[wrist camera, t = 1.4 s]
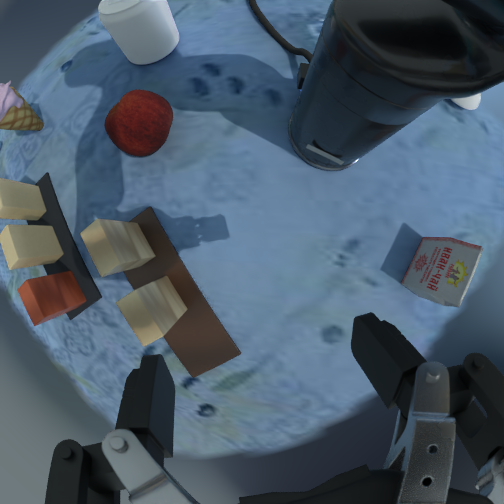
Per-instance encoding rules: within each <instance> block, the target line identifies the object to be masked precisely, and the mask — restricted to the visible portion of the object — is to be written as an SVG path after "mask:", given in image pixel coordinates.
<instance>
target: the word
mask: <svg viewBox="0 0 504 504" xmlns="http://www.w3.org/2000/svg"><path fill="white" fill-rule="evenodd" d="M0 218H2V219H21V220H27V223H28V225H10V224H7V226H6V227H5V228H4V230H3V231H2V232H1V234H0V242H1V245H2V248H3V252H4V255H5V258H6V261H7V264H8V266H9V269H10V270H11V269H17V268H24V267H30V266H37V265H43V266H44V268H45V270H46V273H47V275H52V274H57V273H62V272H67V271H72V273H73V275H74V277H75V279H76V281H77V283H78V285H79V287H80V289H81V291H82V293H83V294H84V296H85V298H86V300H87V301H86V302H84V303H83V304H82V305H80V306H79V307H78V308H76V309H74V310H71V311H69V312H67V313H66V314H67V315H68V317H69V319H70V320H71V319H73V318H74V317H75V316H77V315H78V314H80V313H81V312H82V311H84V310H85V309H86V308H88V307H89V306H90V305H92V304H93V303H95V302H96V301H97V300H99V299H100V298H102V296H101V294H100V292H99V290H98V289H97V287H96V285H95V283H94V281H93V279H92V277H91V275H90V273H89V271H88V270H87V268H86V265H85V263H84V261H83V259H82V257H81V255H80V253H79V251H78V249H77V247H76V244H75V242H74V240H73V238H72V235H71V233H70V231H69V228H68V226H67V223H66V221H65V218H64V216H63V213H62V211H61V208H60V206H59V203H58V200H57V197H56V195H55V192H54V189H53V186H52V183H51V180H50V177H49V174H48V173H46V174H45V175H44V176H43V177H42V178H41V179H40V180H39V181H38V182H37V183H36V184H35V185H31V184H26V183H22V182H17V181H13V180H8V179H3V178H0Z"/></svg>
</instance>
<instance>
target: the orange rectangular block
mask: <svg viewBox="0 0 504 504" xmlns="http://www.w3.org/2000/svg"><path fill="white" fill-rule="evenodd" d="M18 292H19V294H20V297H21V299H22V301H23V304H24V306H25V308H26V310H27V312H28V314H29V316H30V318H31V320H32V322H33V324H34V326H36V325H39V324H41V323H43V322H46V321H48V320H50V319H53V318H55V317H57V316H60V315H62V314H64V313H67V312H69V311H71V310H74V309H76V308H78V307H79V306H80V305H82V304H83V303H84V302H86V301H87V300H86V298H85V296H84V294H83V293H82V291H81V289H80V287H79V285H78V283H77V281H76V279H75V277H74V275H73V273H72V271H67V272H62V273H57V274H52V275H47V276H42V277H38V278H33V279H28V280H26V281H25V282H24V283H23V284H22V285H21V286H20V288H19V289H18Z"/></svg>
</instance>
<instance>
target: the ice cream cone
mask: <svg viewBox="0 0 504 504" xmlns="http://www.w3.org/2000/svg"><path fill="white" fill-rule="evenodd" d="M10 82H11V81H9V83H7V84H6V85H5V84H3V83H1V84H0V129H5V130H37V131H40V130H41V129H42V128H43V125H44V124H43V122H42V121H41V120H40V118H39V117H38V116H37V114H36V113H35V112H34V110H33V109H32V108H31V107H30V105H29V104H28V103H27V102H26V101H25V99H24V98H23V97H22V96H21V95H20V94H19V93H18V92H17V91H16V90H15V89H14V88H13V87H9V85H10Z"/></svg>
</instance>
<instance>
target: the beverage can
mask: <svg viewBox="0 0 504 504" xmlns="http://www.w3.org/2000/svg"><path fill="white" fill-rule="evenodd" d="M98 10H99V19H100V21H101V22H102V24H103V25H104V27H105V28H106V29H107V31H108V32H109V33H110V35H111V36H112V38H113V39H114V40H115V42H116V43H117V45H118V46H119V47H120V49H121V50H122V52H123V53H124V54H125V56H126V57H127V59H128V60H129V61H130V62H132V63H134V64H139V65H144V64H150V63H153V62H156V61H158V60H160V59H162V58H164V57H165V56H167V55H168V54H169V53H171V52H172V51H173V50H174V48H175V47H176V46H177V44H178V42H179V33H178V30H177V27H176V25H175V22H174V19H173V16H172V14H171V11H170V8H169V6H168V3H167V0H102V1H101V3H100V4H99V7H98Z"/></svg>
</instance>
